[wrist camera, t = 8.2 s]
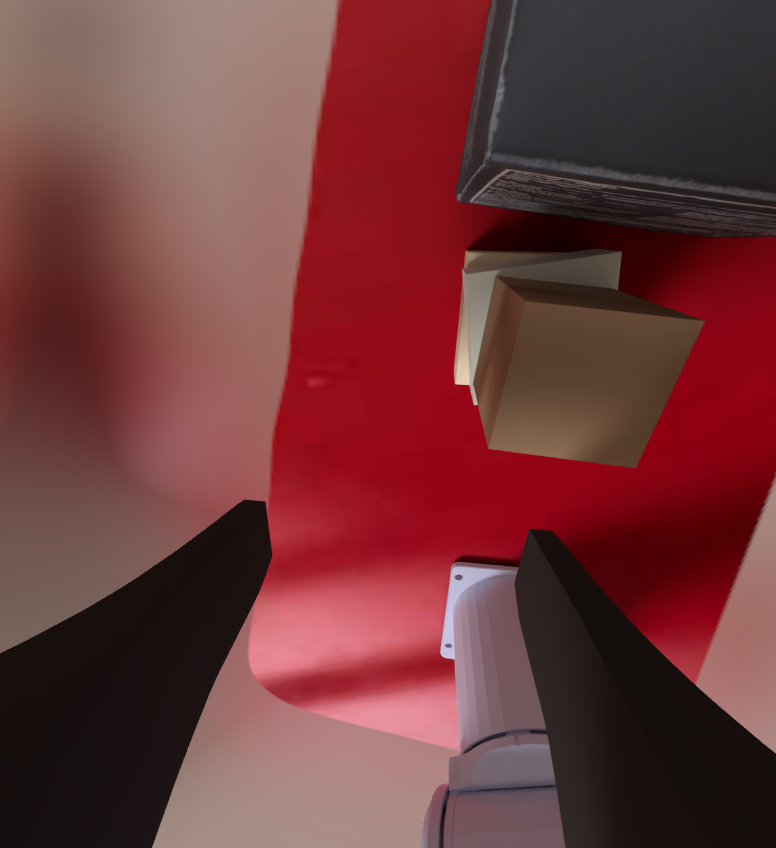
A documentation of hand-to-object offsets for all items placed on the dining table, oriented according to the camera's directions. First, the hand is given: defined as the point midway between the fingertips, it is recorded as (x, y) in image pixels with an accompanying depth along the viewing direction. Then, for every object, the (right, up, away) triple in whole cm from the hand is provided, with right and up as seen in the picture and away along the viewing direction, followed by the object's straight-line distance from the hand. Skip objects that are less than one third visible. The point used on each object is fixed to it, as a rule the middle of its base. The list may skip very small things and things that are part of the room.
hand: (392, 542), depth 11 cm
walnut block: (+5, +6, +3) cm, 9 cm away
